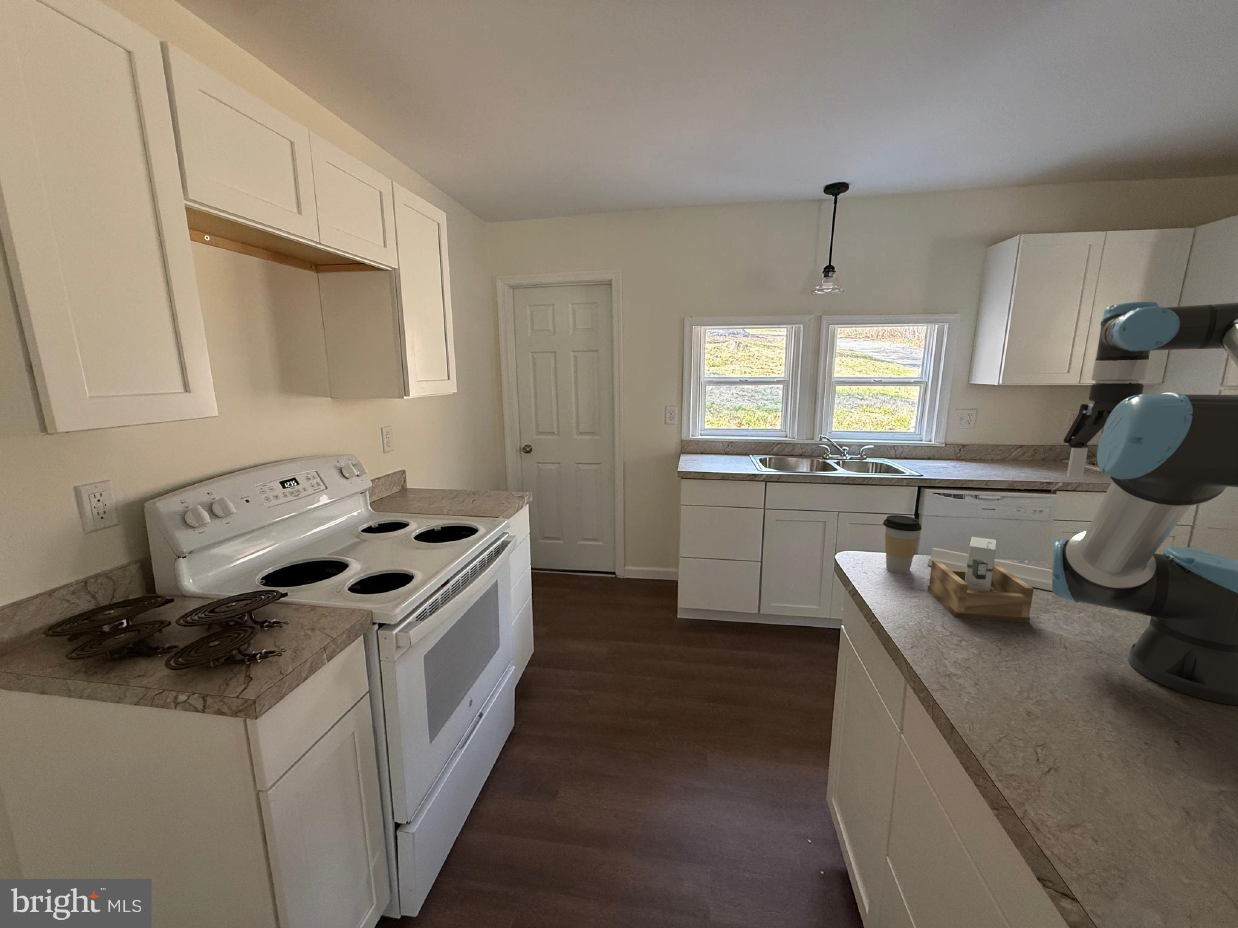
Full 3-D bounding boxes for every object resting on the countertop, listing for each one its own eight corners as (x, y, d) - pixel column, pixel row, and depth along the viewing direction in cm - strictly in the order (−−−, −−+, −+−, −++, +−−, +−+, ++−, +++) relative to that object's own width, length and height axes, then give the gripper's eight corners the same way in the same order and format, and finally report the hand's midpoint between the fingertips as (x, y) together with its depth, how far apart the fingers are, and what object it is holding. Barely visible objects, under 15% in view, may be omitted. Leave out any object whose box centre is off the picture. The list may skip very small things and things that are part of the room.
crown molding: (927, 567, 136) (928, 556, 136) (932, 555, 145) (934, 544, 145) (1075, 598, 117) (1078, 585, 116) (1071, 582, 126) (1073, 569, 125)
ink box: (965, 579, 117) (970, 534, 115) (990, 585, 114) (996, 539, 112) (962, 592, 110) (969, 544, 108) (989, 598, 107) (996, 549, 105)
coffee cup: (922, 577, 129) (928, 525, 126) (885, 574, 130) (890, 523, 128) (909, 563, 138) (914, 514, 135) (874, 561, 140) (878, 513, 137)
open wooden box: (1029, 622, 105) (1035, 588, 103) (954, 617, 108) (959, 583, 106) (992, 594, 118) (997, 563, 117) (927, 589, 121) (931, 560, 120)
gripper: (1201, 383, 83) (1176, 498, 87) (1090, 381, 107) (1075, 471, 111) (1150, 383, 85) (1128, 497, 88) (1052, 381, 109) (1038, 470, 113)
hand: (1098, 483), depth 100 cm, fingers open, 13 cm apart
